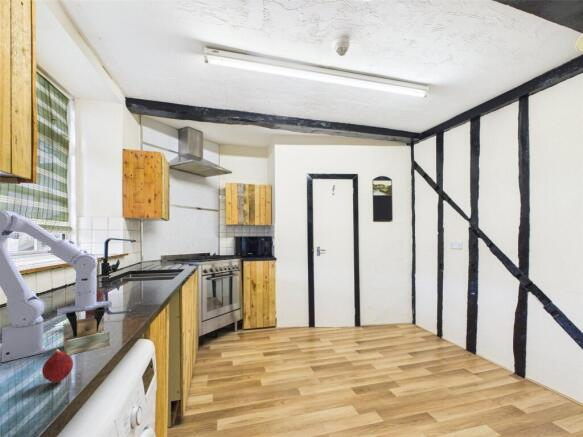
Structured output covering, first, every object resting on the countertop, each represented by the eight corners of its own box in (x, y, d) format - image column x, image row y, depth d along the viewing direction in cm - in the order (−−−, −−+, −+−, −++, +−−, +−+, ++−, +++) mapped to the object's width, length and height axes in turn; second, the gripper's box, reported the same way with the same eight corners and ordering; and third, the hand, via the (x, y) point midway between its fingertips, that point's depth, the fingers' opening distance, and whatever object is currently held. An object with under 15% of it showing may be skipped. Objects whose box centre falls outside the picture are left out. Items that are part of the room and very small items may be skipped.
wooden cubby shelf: (66, 355, 87) (67, 331, 87) (63, 345, 94) (63, 323, 94) (109, 344, 94) (109, 322, 94) (103, 336, 101) (103, 316, 102)
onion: (78, 376, 74) (78, 344, 74) (61, 388, 68) (61, 354, 69) (54, 377, 74) (55, 345, 74) (35, 389, 68) (36, 354, 68)
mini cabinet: (77, 343, 91) (77, 324, 91) (75, 338, 95) (75, 320, 95) (96, 339, 95) (96, 320, 95) (93, 334, 99) (93, 316, 99)
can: (82, 327, 112) (82, 290, 112) (88, 322, 118) (89, 287, 118) (100, 325, 113) (100, 289, 114) (106, 320, 120) (106, 286, 120)
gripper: (59, 297, 88) (58, 342, 88) (114, 289, 98) (114, 330, 97) (56, 293, 93) (56, 336, 93) (109, 286, 103) (109, 325, 103)
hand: (85, 333), depth 95 cm, fingers closed on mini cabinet, 5 cm apart
